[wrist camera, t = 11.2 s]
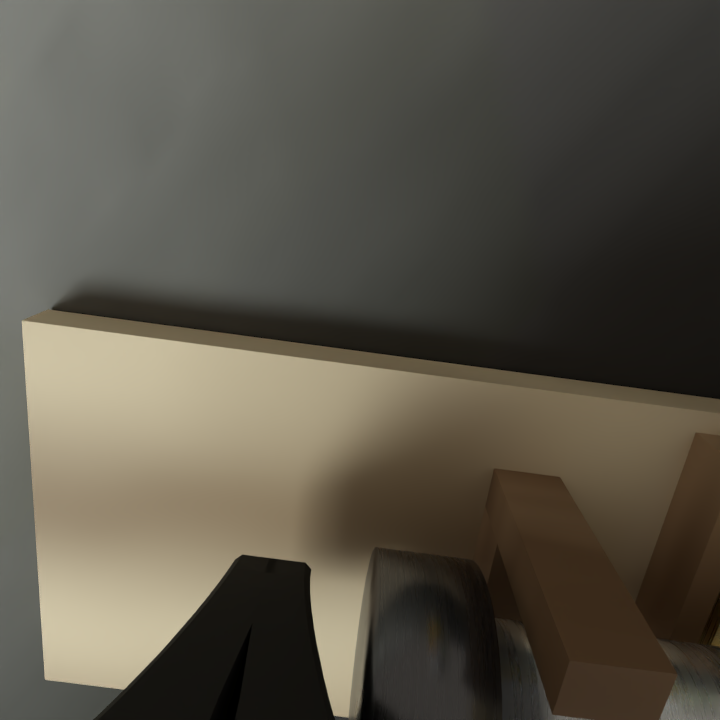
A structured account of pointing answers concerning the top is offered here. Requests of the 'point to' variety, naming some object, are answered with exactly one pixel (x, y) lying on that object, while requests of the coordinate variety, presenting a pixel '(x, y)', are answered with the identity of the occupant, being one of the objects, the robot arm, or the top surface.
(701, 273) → the top surface
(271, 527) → the bearing bed
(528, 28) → the top surface
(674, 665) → the shaft
